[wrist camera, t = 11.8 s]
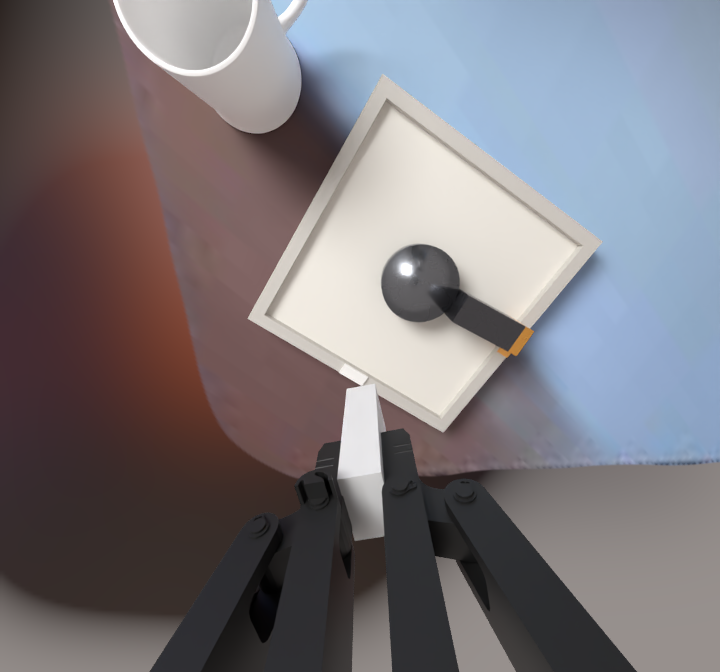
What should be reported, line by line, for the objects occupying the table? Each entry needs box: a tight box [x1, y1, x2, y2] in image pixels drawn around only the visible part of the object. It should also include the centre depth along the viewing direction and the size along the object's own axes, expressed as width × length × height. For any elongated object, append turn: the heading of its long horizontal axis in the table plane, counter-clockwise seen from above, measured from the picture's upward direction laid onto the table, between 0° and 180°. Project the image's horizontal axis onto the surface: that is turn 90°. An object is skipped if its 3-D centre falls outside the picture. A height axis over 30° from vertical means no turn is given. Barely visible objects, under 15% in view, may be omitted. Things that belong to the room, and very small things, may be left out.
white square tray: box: [248, 74, 602, 432], centre depth 33 cm, size 24×24×3 cm
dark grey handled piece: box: [381, 244, 534, 356], centre depth 31 cm, size 14×7×4 cm, turn 62°
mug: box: [113, 0, 308, 134], centre depth 24 cm, size 12×8×12 cm
